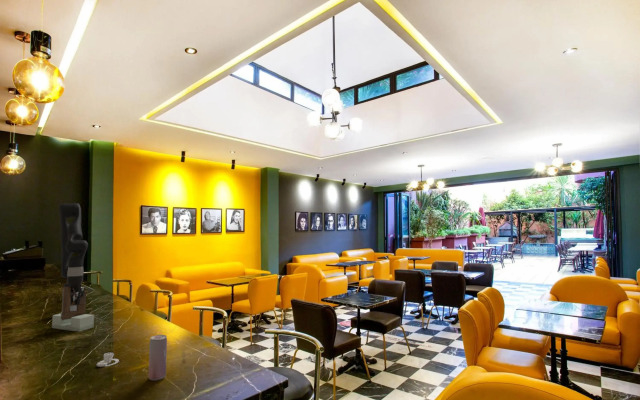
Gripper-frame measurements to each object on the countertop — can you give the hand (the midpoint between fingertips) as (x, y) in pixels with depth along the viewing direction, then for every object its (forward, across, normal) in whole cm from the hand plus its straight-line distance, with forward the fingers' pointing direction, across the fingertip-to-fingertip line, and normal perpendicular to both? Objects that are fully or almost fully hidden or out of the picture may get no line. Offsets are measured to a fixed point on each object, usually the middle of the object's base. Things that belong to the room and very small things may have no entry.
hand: (73, 304), depth 191 cm
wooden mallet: (+8, 0, 0) cm, 8 cm away
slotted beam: (+13, 0, 0) cm, 13 cm away
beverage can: (+13, -96, +35) cm, 103 cm away
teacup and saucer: (+14, -63, +32) cm, 72 cm away
